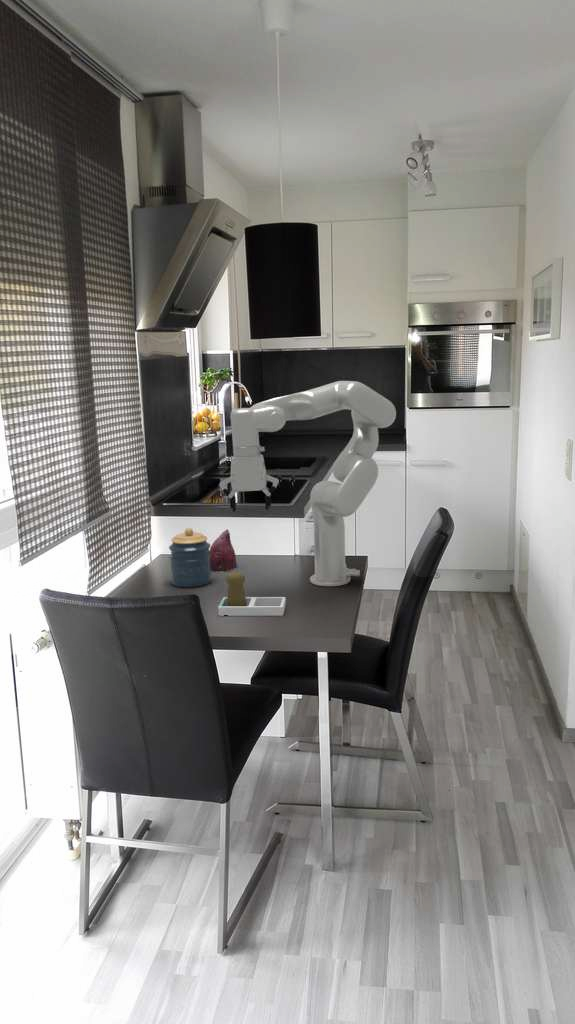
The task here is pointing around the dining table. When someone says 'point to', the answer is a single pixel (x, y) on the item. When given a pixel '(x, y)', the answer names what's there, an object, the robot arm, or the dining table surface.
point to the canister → (190, 560)
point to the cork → (236, 589)
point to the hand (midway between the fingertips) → (251, 509)
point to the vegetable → (222, 553)
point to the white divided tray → (255, 607)
